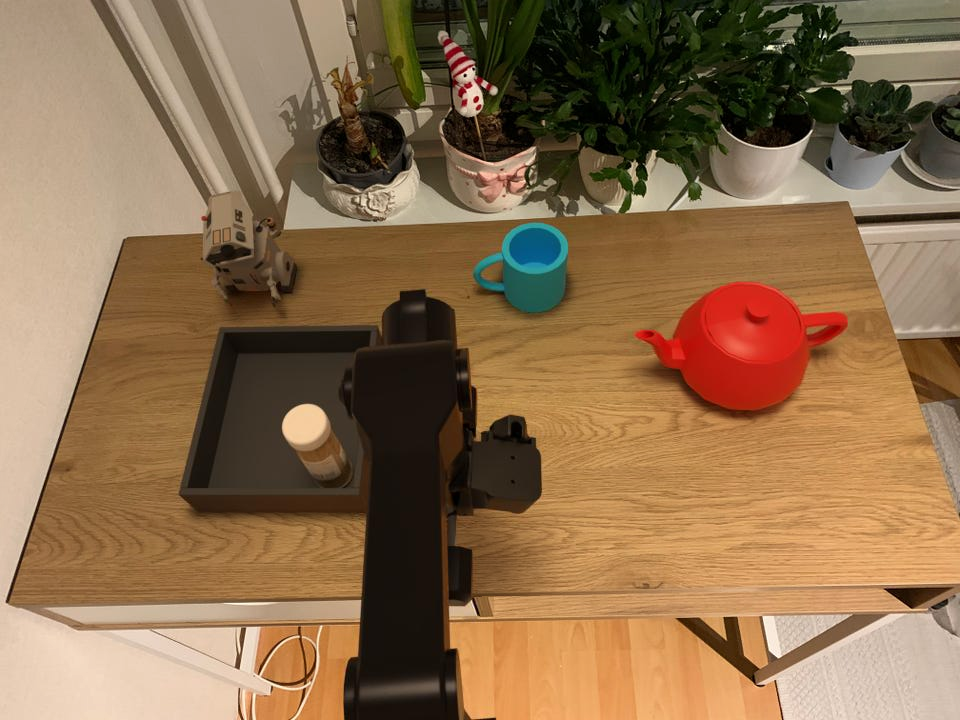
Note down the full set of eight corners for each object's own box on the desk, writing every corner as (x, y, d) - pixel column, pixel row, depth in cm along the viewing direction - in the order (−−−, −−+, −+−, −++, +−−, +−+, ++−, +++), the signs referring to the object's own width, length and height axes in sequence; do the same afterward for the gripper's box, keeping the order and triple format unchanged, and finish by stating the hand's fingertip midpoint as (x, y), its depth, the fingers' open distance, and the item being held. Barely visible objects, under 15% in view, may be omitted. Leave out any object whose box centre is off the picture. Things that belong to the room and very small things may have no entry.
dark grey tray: (368, 512, 81) (359, 494, 76) (198, 512, 82) (178, 494, 78) (385, 349, 92) (378, 324, 88) (235, 350, 93) (219, 326, 89)
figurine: (218, 328, 95) (171, 255, 83) (237, 259, 101) (195, 182, 89) (286, 328, 95) (249, 255, 82) (301, 259, 101) (268, 181, 88)
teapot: (804, 301, 93) (840, 239, 82) (849, 408, 85) (895, 354, 74) (611, 324, 93) (622, 264, 82) (638, 434, 84) (654, 383, 74)
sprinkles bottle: (359, 460, 84) (333, 407, 72) (345, 497, 82) (316, 448, 70) (322, 452, 85) (291, 398, 73) (308, 488, 83) (273, 438, 71)
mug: (560, 260, 98) (562, 219, 91) (569, 309, 94) (573, 270, 87) (472, 269, 98) (468, 229, 91) (477, 319, 94) (474, 281, 87)
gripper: (539, 579, 48) (535, 626, 62) (534, 343, 58) (532, 428, 71) (373, 578, 49) (406, 625, 62) (396, 344, 59) (419, 428, 72)
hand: (446, 519), depth 67 cm, fingers open, 9 cm apart
